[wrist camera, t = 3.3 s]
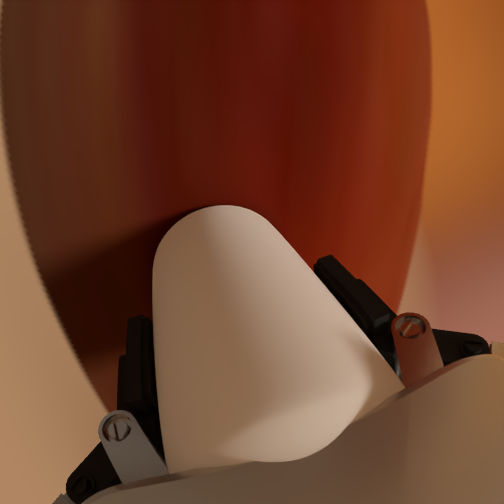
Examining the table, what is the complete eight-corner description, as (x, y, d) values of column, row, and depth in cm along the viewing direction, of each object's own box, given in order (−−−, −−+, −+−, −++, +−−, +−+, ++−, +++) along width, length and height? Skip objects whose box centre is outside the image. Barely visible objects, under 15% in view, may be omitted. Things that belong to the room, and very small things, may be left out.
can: (208, 336, 17) (275, 547, 7) (124, 261, 14) (116, 541, 4) (303, 267, 17) (447, 455, 7) (233, 172, 13) (438, 397, 3)
